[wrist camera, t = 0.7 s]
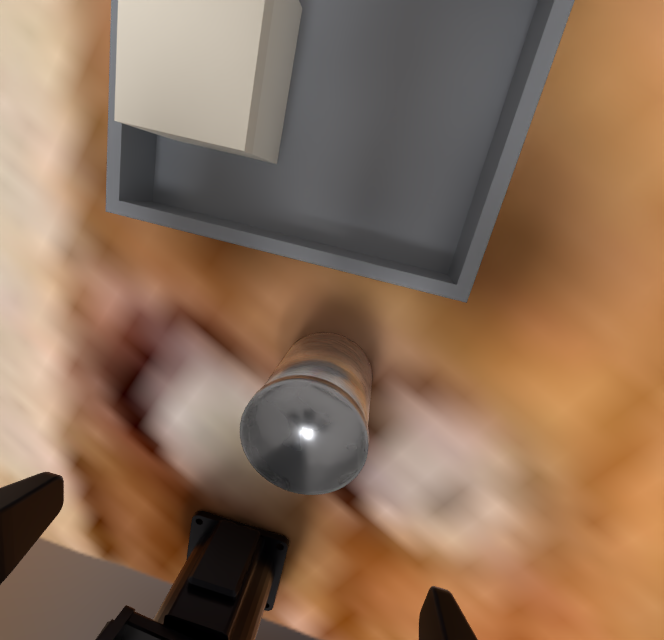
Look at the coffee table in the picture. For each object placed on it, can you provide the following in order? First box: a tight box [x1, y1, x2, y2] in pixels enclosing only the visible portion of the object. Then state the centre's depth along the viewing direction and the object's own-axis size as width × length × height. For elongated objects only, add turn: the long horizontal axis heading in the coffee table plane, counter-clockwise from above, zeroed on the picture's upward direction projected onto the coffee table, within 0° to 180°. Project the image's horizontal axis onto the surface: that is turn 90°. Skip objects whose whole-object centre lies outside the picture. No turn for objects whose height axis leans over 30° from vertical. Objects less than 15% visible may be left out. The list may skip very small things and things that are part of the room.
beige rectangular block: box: [114, 0, 302, 164], centre depth 14 cm, size 6×5×4 cm
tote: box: [106, 0, 574, 303], centre depth 15 cm, size 13×16×3 cm
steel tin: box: [240, 333, 372, 495], centre depth 17 cm, size 5×5×6 cm
